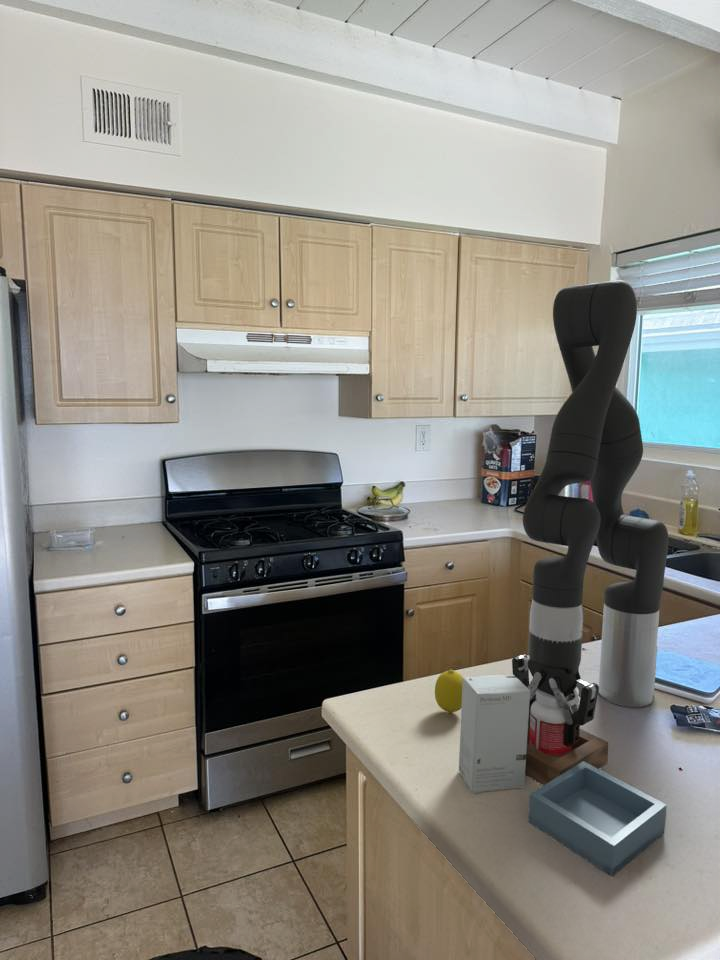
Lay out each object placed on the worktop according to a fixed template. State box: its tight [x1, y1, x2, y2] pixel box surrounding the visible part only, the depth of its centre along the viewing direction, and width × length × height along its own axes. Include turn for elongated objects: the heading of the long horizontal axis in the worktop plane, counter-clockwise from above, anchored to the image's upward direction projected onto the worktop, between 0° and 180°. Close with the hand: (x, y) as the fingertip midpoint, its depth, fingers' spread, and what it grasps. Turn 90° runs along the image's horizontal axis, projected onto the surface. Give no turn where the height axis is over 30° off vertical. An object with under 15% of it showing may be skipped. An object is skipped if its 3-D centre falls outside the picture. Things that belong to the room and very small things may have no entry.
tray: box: [528, 761, 668, 877], centre depth 84 cm, size 12×12×4 cm
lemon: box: [434, 669, 464, 715], centre depth 112 cm, size 6×6×8 cm
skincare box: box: [458, 674, 530, 794], centre depth 93 cm, size 8×6×15 cm
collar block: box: [525, 727, 610, 786], centre depth 99 cm, size 12×12×4 cm
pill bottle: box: [529, 688, 573, 760], centre depth 98 cm, size 6×6×11 cm
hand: (550, 734), depth 99 cm, fingers closed on pill bottle, 6 cm apart
